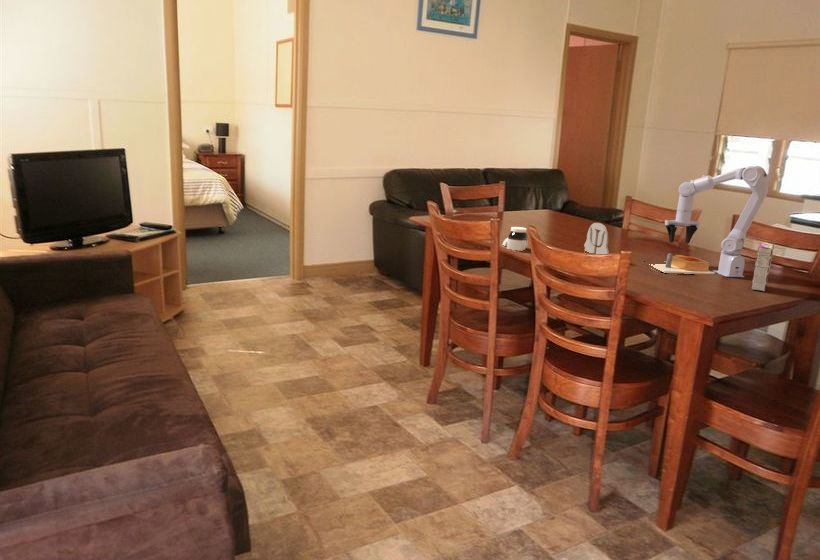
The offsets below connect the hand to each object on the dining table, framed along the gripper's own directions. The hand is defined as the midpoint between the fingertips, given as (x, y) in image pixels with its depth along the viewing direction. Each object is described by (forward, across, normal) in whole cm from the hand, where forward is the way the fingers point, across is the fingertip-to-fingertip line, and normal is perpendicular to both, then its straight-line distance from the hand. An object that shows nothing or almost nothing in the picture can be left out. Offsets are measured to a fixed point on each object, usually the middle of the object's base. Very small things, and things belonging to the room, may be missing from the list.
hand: (679, 242), depth 266 cm
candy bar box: (+11, -14, +35) cm, 39 cm away
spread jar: (+11, +67, -17) cm, 70 cm away
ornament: (+11, +41, -4) cm, 42 cm away
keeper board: (+10, +3, +6) cm, 13 cm away
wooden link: (+9, -2, +8) cm, 12 cm away
